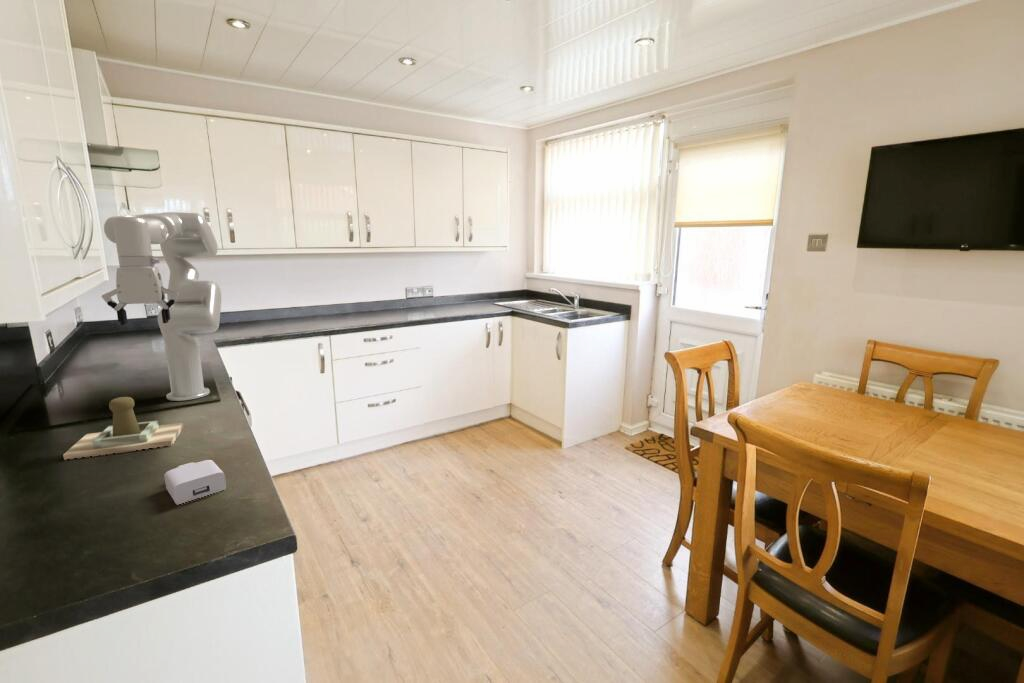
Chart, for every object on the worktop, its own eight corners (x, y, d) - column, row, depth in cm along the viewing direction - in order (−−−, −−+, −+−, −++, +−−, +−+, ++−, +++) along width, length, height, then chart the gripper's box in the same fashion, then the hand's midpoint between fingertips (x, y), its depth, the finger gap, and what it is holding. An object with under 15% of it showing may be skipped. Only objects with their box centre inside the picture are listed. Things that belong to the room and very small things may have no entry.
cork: (138, 431, 129) (132, 393, 127) (144, 436, 125) (138, 397, 123) (110, 437, 125) (103, 398, 122) (115, 443, 121) (108, 403, 119)
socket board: (87, 439, 127) (85, 426, 126) (183, 427, 136) (182, 416, 135) (64, 460, 115) (61, 446, 114) (171, 445, 123) (169, 433, 123)
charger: (207, 468, 112) (226, 490, 102) (160, 481, 105) (176, 507, 95) (205, 450, 111) (224, 470, 101) (157, 462, 104) (173, 485, 94)
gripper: (177, 262, 136) (184, 320, 139) (102, 262, 129) (112, 323, 132) (170, 263, 129) (178, 323, 133) (91, 263, 122) (102, 327, 126)
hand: (145, 323), depth 132 cm, fingers open, 9 cm apart
